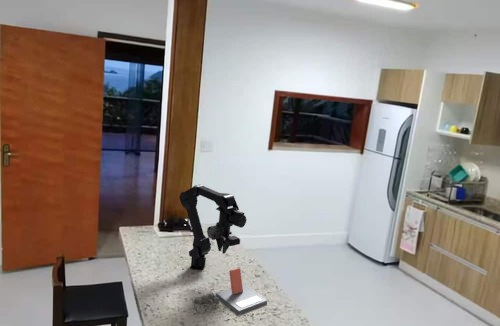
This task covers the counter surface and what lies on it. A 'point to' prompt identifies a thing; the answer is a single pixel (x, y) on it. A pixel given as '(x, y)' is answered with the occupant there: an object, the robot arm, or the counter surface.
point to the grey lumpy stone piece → (208, 300)
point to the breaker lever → (236, 281)
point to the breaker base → (241, 299)
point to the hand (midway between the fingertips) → (221, 252)
